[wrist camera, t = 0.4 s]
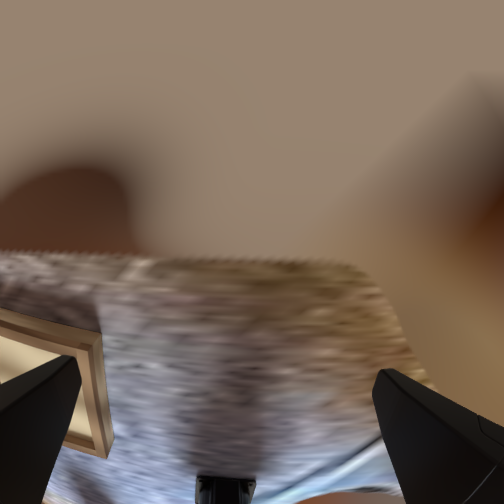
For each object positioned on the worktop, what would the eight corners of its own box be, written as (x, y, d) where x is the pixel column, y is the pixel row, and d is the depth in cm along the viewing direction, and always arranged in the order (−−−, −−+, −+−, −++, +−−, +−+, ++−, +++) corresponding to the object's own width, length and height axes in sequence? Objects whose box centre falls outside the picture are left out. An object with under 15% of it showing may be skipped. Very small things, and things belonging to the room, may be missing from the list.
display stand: (114, 439, 26) (106, 459, 24) (14, 406, 25) (2, 421, 22) (101, 333, 23) (87, 351, 21) (-11, 303, 22) (-29, 315, 19)
